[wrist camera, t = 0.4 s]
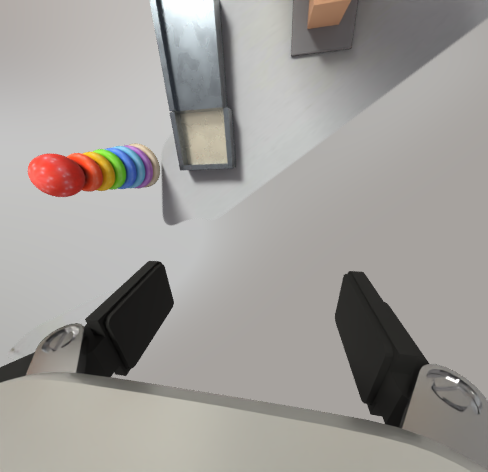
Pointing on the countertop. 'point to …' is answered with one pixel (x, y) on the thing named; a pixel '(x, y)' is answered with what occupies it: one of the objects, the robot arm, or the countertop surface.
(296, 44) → the mat
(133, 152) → the stacking toy
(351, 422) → the robot arm
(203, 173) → the countertop surface
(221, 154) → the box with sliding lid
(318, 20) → the tan cardboard box
